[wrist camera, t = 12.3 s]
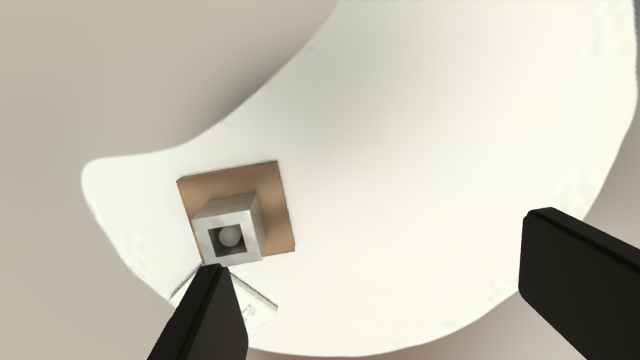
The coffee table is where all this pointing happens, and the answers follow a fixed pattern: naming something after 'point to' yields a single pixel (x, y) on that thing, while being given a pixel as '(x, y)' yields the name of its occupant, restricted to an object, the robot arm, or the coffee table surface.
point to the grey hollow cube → (227, 213)
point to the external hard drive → (240, 304)
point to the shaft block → (238, 182)
